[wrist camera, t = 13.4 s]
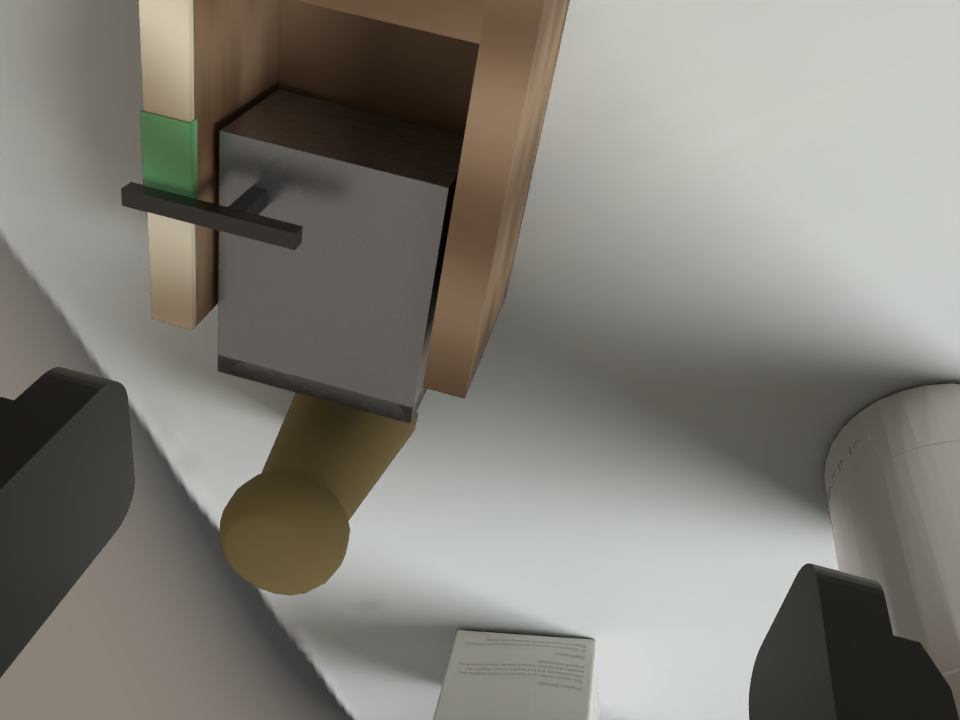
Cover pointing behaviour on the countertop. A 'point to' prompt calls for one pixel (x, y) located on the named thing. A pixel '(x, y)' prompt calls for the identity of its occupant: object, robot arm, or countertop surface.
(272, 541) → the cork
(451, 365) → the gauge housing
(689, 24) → the countertop surface
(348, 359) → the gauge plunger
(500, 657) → the skincare box
